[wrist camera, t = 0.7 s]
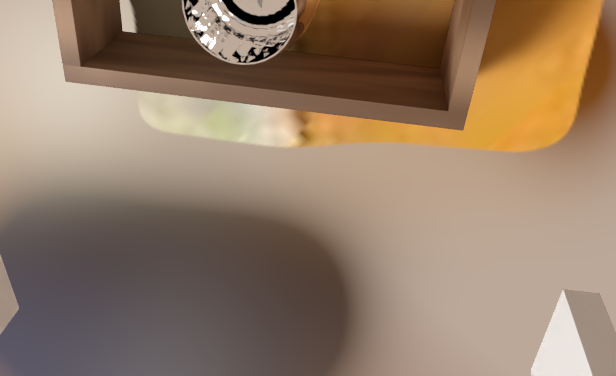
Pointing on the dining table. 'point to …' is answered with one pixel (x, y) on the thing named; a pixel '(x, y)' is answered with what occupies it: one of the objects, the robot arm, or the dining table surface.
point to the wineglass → (248, 26)
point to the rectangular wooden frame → (277, 69)
